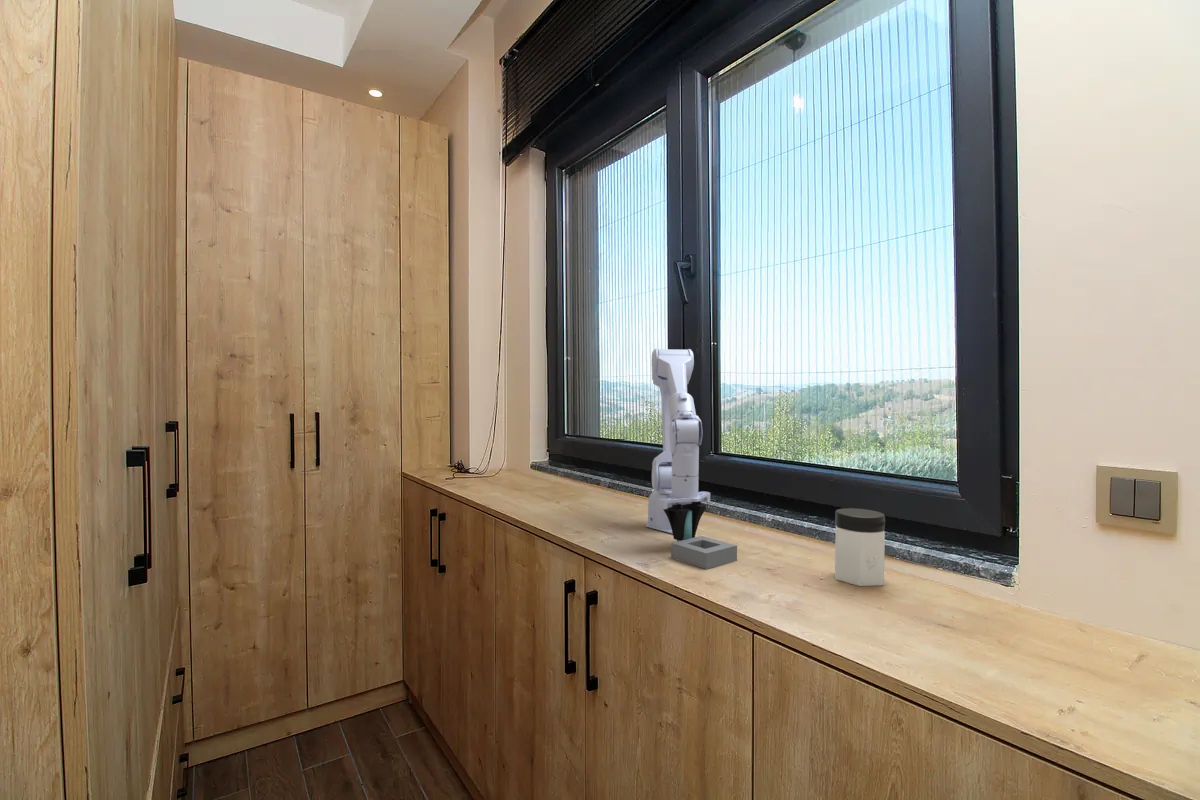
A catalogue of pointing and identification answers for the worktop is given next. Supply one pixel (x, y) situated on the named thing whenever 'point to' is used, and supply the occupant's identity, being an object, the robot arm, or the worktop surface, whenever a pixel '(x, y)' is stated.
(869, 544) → the jar
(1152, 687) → the worktop surface
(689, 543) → the socket block
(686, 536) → the peg
